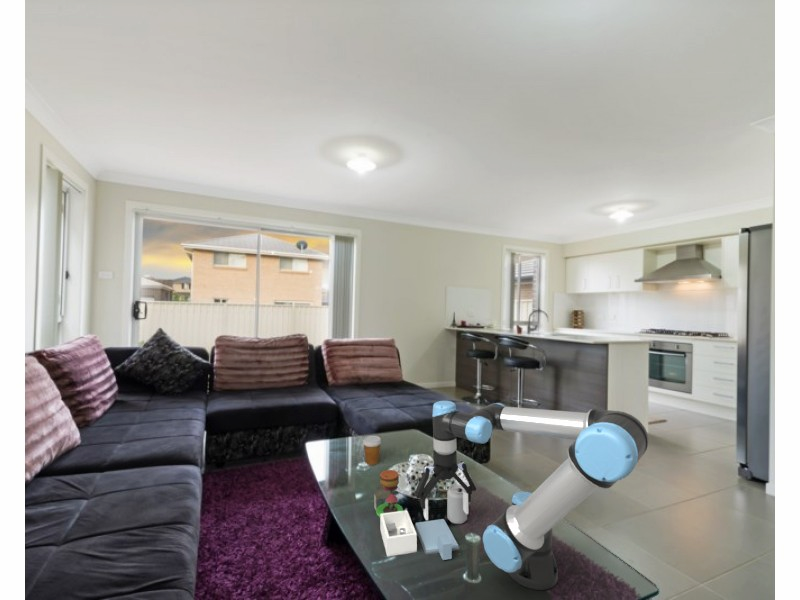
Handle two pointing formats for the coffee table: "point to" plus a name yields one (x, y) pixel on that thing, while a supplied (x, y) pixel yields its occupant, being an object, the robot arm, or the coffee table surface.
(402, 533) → the parts
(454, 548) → the mat
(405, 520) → the tub
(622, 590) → the coffee table surface
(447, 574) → the coffee table surface
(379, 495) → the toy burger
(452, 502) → the can
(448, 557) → the lid
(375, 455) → the disposable coffee cup
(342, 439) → the coffee table surface
